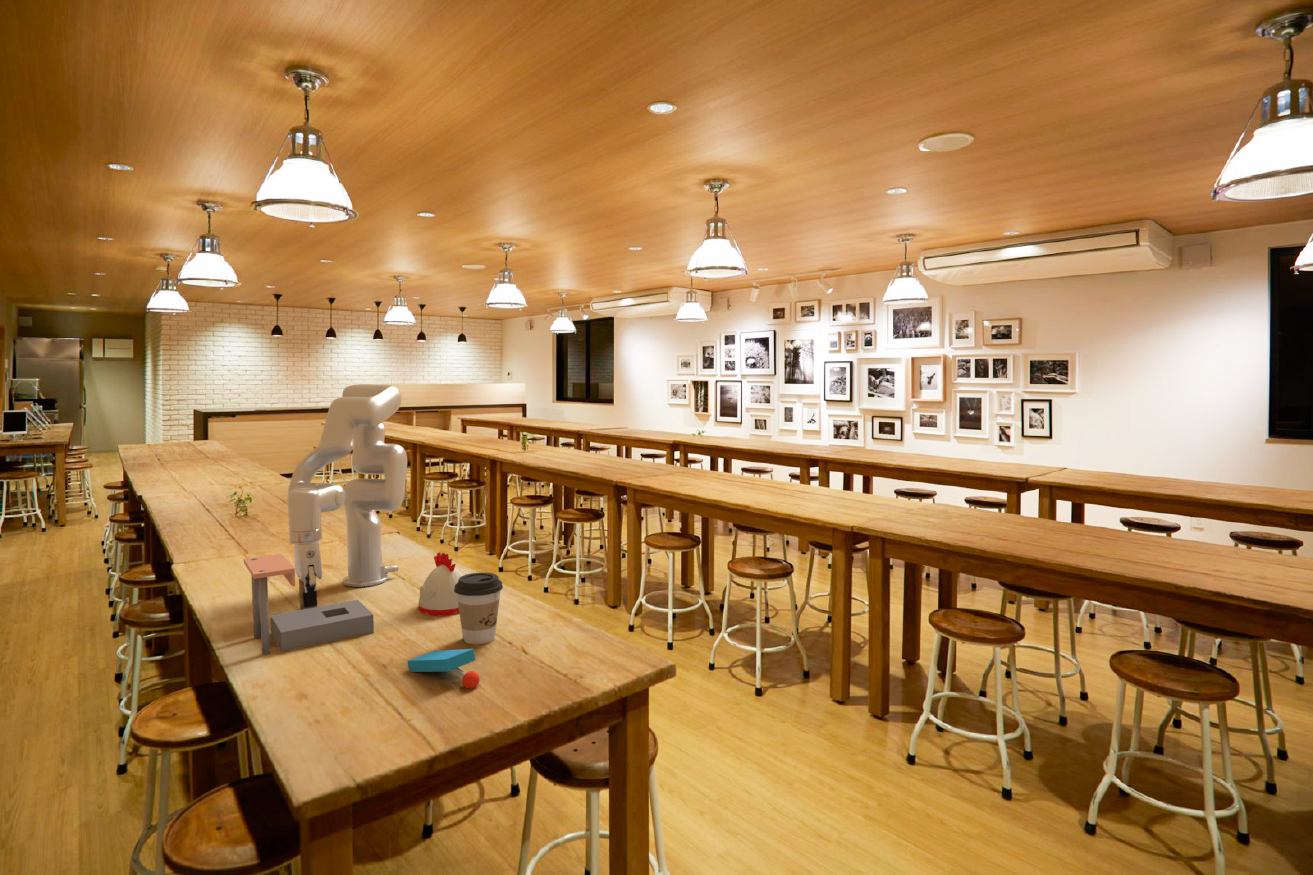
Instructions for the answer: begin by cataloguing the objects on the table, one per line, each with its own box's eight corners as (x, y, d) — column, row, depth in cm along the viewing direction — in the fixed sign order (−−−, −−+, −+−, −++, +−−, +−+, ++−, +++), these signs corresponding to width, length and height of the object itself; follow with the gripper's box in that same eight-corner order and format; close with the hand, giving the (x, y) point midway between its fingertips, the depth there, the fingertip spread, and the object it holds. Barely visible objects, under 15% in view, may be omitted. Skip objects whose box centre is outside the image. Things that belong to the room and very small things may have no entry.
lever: (412, 693, 145) (463, 694, 134) (406, 660, 145) (456, 659, 135) (440, 682, 150) (491, 682, 139) (434, 650, 151) (484, 648, 140)
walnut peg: (315, 607, 182) (314, 575, 181) (318, 612, 179) (317, 578, 178) (298, 611, 180) (297, 577, 179) (301, 615, 177) (300, 581, 176)
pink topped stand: (284, 629, 168) (281, 553, 166) (297, 650, 155) (294, 568, 154) (246, 636, 163) (243, 558, 161) (257, 658, 150) (253, 574, 149)
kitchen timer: (450, 596, 195) (449, 544, 194) (482, 605, 187) (481, 552, 186) (408, 609, 184) (406, 554, 183) (440, 619, 176) (439, 563, 175)
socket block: (358, 616, 177) (357, 599, 177) (373, 632, 166) (373, 614, 166) (271, 633, 165) (270, 615, 165) (281, 651, 154) (281, 632, 154)
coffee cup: (478, 652, 155) (477, 587, 154) (444, 641, 161) (443, 579, 160) (513, 636, 165) (513, 575, 164) (480, 627, 171) (479, 568, 170)
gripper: (328, 540, 173) (331, 609, 175) (314, 527, 186) (316, 592, 188) (296, 544, 169) (299, 616, 170) (283, 531, 182) (286, 598, 183)
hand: (308, 603), depth 179 cm, fingers closed on walnut peg, 4 cm apart
